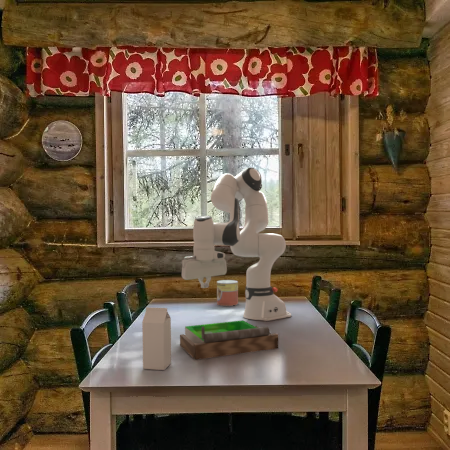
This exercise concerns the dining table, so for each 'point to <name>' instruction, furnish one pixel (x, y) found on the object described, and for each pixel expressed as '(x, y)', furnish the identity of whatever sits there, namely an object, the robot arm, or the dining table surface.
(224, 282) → the canned food
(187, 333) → the tray
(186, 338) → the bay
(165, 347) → the milk carton
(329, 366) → the dining table surface
